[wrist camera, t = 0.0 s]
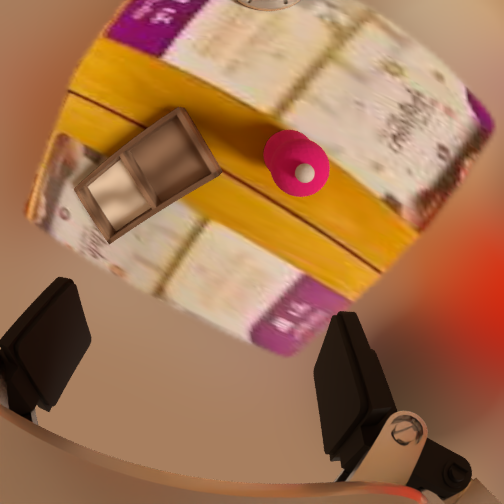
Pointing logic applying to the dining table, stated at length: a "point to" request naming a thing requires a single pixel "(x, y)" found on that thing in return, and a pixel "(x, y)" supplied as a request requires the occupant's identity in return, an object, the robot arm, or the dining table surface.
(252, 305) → the dining table surface
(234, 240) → the dining table surface
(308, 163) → the pepper mill
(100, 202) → the caddy
